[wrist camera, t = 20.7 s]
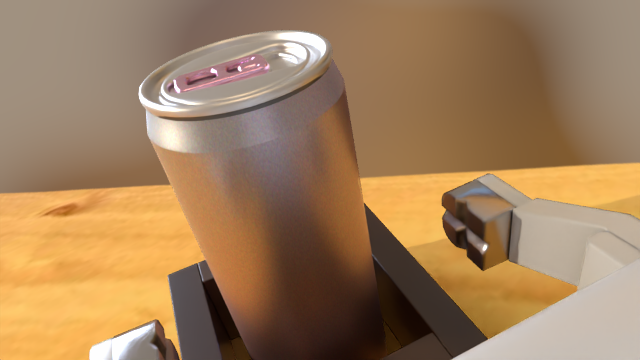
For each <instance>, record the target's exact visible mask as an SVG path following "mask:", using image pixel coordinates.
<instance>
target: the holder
mask: <svg viewBox="0 0 640 360" xmlns="http://www.w3.org/2000/svg"><path fill="white" fill-rule="evenodd" d="M364 208H365V214H366V220H367V226H368V233H369V239H370V245H371V251H372V258H373V264H374V270H375V276H376V282H377V289H378V295H379V301H380V307H381V314H382V318H383V319H384V320H385V322H386V323H387V325H388V326H389V328H390V329H391V331H392V332H393V333H394V335H395V336H396V338H397V339H398V341H399V342H400V344H401V345H402V346H403V348H401V349H399V350H397V351H395V352H393V353H391V354H389V355H387V356H385V357H383V358H381V359H379V360H451V359H453V358H455V357H457V356H459V355H460V354H462V353H464V352H466V351H468V350H470V349H472V348H473V347H475V346H477V345H479V344H481V343H483V342H484V341H486V340H488V339H487V338H486V336H485V335H484V334H483V333H482V332H481V331H480V330H479V329H478V328H477V327H476V325H475V324H474V323H473V322H472V321H471V320H470V319H469V318H468V317H467V316H466V314H465V313H464V312H463V311H462V310H461V309H460V308H459V307H458V306H457V305H456V303H455V302H454V301H453V300H452V299H451V298H450V297H449V296H448V295H447V294H446V292H445V291H444V290H443V289H442V288H441V287H440V286H439V285H438V284H437V283H436V281H435V280H434V279H433V278H432V277H431V276H430V275H429V274H428V273H427V272H426V270H425V269H424V268H423V267H422V266H421V265H420V264H419V263H418V262H417V261H416V259H415V258H414V257H413V256H412V255H411V254H410V253H409V252H408V251H407V250H406V248H405V247H404V246H403V245H402V244H401V243H400V242H399V241H398V240H397V239H396V237H395V236H394V235H393V234H392V233H391V232H390V231H389V230H388V229H387V228H386V226H385V225H384V224H383V223H382V222H381V221H380V220H379V219H378V218H377V217H376V215H375V214H374V213H373V212H372V211H371V210H370V209H369V208H368V207H367V206H366V204H365V203H364ZM168 281H169V287H170V293H171V299H172V305H173V310H174V316H175V322H176V328H177V334H178V340H179V346H180V352H181V358H182V360H236V358H235V355H234V351H233V348H232V344H231V341H230V339H234V338H236V337H238V336H240V333H239V331H238V329H237V327H236V325H235V322H234V320H233V318H232V316H231V314H230V312H229V309H228V307H227V305H226V303H225V301H224V299H223V296H222V294H221V292H220V290H219V288H218V286H217V283H216V281H215V279H214V277H213V275H212V273H211V270H210V268H209V266H208V264H207V262H206V260H204V261H202V262H199V263H198V264H197V263H196V264H194V265H191V266H189V267H186V268H184V269H182V270H179V271H177V272H174V273H172V274H169V275H168Z"/></svg>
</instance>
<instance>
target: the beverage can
mask: <svg viewBox="0 0 640 360" xmlns="http://www.w3.org/2000/svg"><path fill="white" fill-rule="evenodd" d="M332 57H333V51H332V47H331V44H330V42H329V41H328V40H327V39H326V38H325V37H323V36H321V35H319V34H316V33H312V32H307V31H297V30H280V31H268V32H260V33H254V34H248V35H243V36H239V37H234V38H230V39H226V40H222V41H219V42H216V43H212V44H209V45H206V46H203V47H201V48H198V49H195V50H193V51H190V52H188V53H185V54H183V55H181V56H179V57H177V58H175V59H173V60H171V61H169V62H167V63H166V64H164V65H162V66H161V67H159V68H158V69H156V70H155V71H154V72H152V73H151V74H150V75H149V76H148V77H147V78H146V79H145V80H144V82H143V83H142V84H141V86H140V89H139V98H140V101H141V103H142V105H143V107H144V108H146V117H147V132H148V136H149V138H150V140H151V142H152V145H153V147H154V149H155V151H156V153H157V156H158V158H159V160H160V162H161V164H162V166H163V169H164V171H165V173H166V175H167V177H168V179H169V182H170V184H171V186H172V188H173V190H174V192H175V195H176V197H177V199H178V201H179V203H180V205H181V208H182V210H183V212H184V214H185V216H186V218H187V221H188V223H189V225H190V227H191V229H192V231H193V234H194V236H195V238H196V240H197V242H198V244H199V247H200V249H201V251H202V253H203V255H204V257H205V260H206V262H207V264H208V266H209V268H210V270H211V273H212V275H213V277H214V279H215V281H216V283H217V286H218V288H219V290H220V292H221V294H222V296H223V299H224V301H225V303H226V305H227V307H228V309H229V312H230V314H231V316H232V318H233V320H234V322H235V325H236V327H237V329H238V331H239V333H240V336H241V338H242V340H243V342H244V344H245V346H246V349H247V351H248V353H249V355H250V357H251V359H252V360H379V359H381V358H383V357H385V356H387V345H386V339H385V332H384V326H383V320H382V314H381V307H380V301H379V295H378V289H377V282H376V276H375V270H374V264H373V258H372V251H371V245H370V239H369V233H368V226H367V220H366V214H365V208H364V202H363V195H362V189H361V183H360V177H359V171H358V164H357V159H356V152H355V146H354V139H353V134H352V127H351V121H350V116H349V108H348V102H347V96H346V90H345V83H344V79H343V77H342V75H341V73H340V71H339V70H338V68H337V66H336V65H335V63H334V61H333V59H332Z"/></svg>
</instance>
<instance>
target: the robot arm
mask: <svg viewBox="0 0 640 360" xmlns="http://www.w3.org/2000/svg"><path fill="white" fill-rule="evenodd" d="M442 206H443V207H444V208H446V209H447V210H446V211H445V213H444V215H443V217H442V220H443V228H444V230H445V233H446V235H447V237H448V238H449V239H450V241H451V242H452V243H453V244H454V245H455V246H456V247H459V248H463V249H466V251H467V257H468V258H469V259H470V260H471V261H472V262H473V263H475V264H476V265H477V266H478V267H479V268H480V269H481V270H482V271H485V270H487V269H489V268H491V267H493V266H495V265H498V264H500V263H502V262H504V261H506V260H508V259H509V261H510V262H513V263H516V264H518V265H521V266H524V267H526V268H529V269H532V270H535V271H537V272H540V273H543V274H545V275H548V276H551V277H554V278H556V279H559V280H562V281H564V282H567V283H570V284H573V285H575V286H577V291H576V292H575V293H573V294H571V295H570V296H568V297H566V298H564V299H562V300H560V301H558V302H557V303H555V304H553V305H551V306H549V307H547V308H546V309H544V310H542V311H540V312H538V313H536V314H534V315H533V316H531V317H529V318H527V319H525V320H523V321H521V322H520V323H518V324H516V325H514V326H512V327H510V328H508V329H507V330H505V331H503V332H501V333H499V334H497V335H496V336H494V337H492V338H490V339H488V340H486V341H484V342H483V343H481V344H479V345H477V346H475V347H473V348H472V349H470V350H468V351H466V352H464V353H462V354H460V355H459V356H457V357H455V358H453V359H451V360H640V219H638V218H636V217H634V216H632V215H631V214H625V213H619V212H614V211H608V210H602V209H596V208H591V207H585V206H579V205H574V204H568V203H562V202H557V201H551V200H545V199H539V198H536V199H534V200H532V199H530V198H529V197H527V196H526V195H524V194H523V193H521V192H520V191H518V190H516V189H515V188H513V187H512V186H510V185H509V184H507V183H506V182H504V181H502V180H501V179H499V178H498V177H496V176H495V175H493V174H486V175H484V176H481V177H479V178H477V179H475V180H473V181H471V182H468V183H466V184H464V185H462V186H459V187H457V188H455V189H453V190H451V191H448V192H446V193H444V194H443V196H442ZM89 360H180V359H179V356H178V353H177V351H176V349H175V346H174V345H173V343H172V341H171V340H170V339H166V338H165V334H164V328H163V327H162V325H161V324H160V322H159V321H158V320H156V319H155V320H153V321H150V322H148V323H145V324H143V325H140V326H138V327H136V328H133V329H131V330H128V331H126V332H123V333H121V334H119V335H116V336H114V337H113V338H110V339H108V340H105V341H103V342H100V343H98V344H95V345H93V346H92V348H91V350H90V354H89Z"/></svg>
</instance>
